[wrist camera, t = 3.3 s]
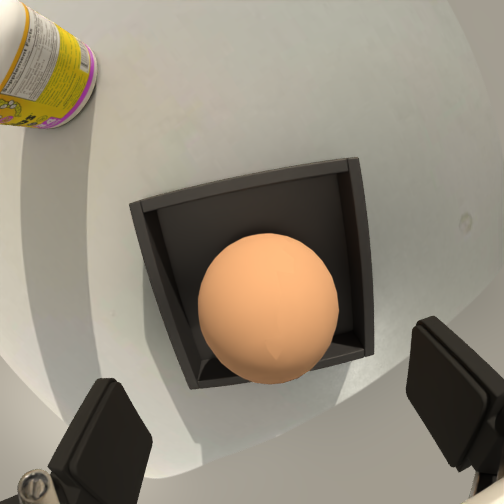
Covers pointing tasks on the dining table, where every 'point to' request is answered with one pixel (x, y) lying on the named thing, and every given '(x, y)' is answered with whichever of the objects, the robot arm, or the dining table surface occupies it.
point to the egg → (268, 308)
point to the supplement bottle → (41, 69)
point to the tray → (252, 223)
